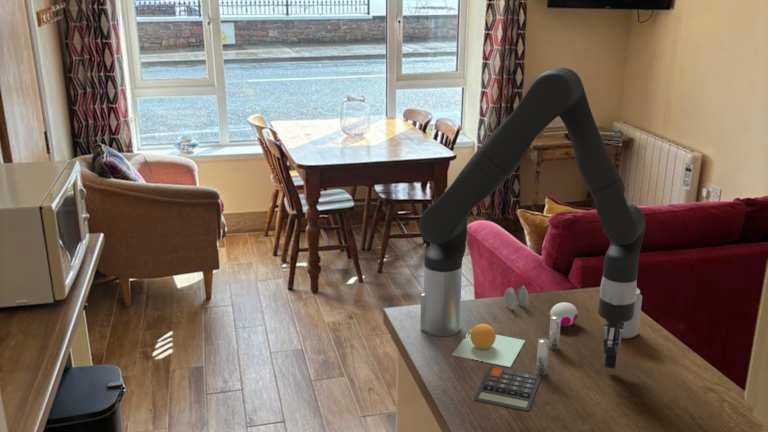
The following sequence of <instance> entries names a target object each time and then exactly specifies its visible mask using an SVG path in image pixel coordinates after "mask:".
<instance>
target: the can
mask: <svg viewBox="0 0 768 432" xmlns="http://www.w3.org/2000/svg"><path fill="white" fill-rule="evenodd" d="M642 303H643V295H642V294H641V290H640V289H639V288H638V287H637V292H636V300H635V309H634V317H633V318H632V319H631V320H630V321H627V322H624V323H625V327H624V330H623V334H622V339H623V340H624V339H625V340H626V339H632V338H634V337H636V336H637V335H638V334H639V328H640V321H641V312H642V311H641V310H642Z"/></svg>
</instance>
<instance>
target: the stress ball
mask: <svg viewBox="0 0 768 432" xmlns="http://www.w3.org/2000/svg"><path fill="white" fill-rule="evenodd" d="M553 315H557V316H560V317H561V326H560V327H568V328H569V329H572V330H574V331H575V329H573V328H572V327H571V325H572V324H574V323H575V322H576V320H578V319H577V318H578V315H579V312H578V309H577V307H576V306H575V305H574V304H572V303H569V302H564V301H563V302H559V303H556V304H555V305H554V306H553V307H552V308H551V309H550V312H549V318H550V319H551V316H553Z"/></svg>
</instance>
